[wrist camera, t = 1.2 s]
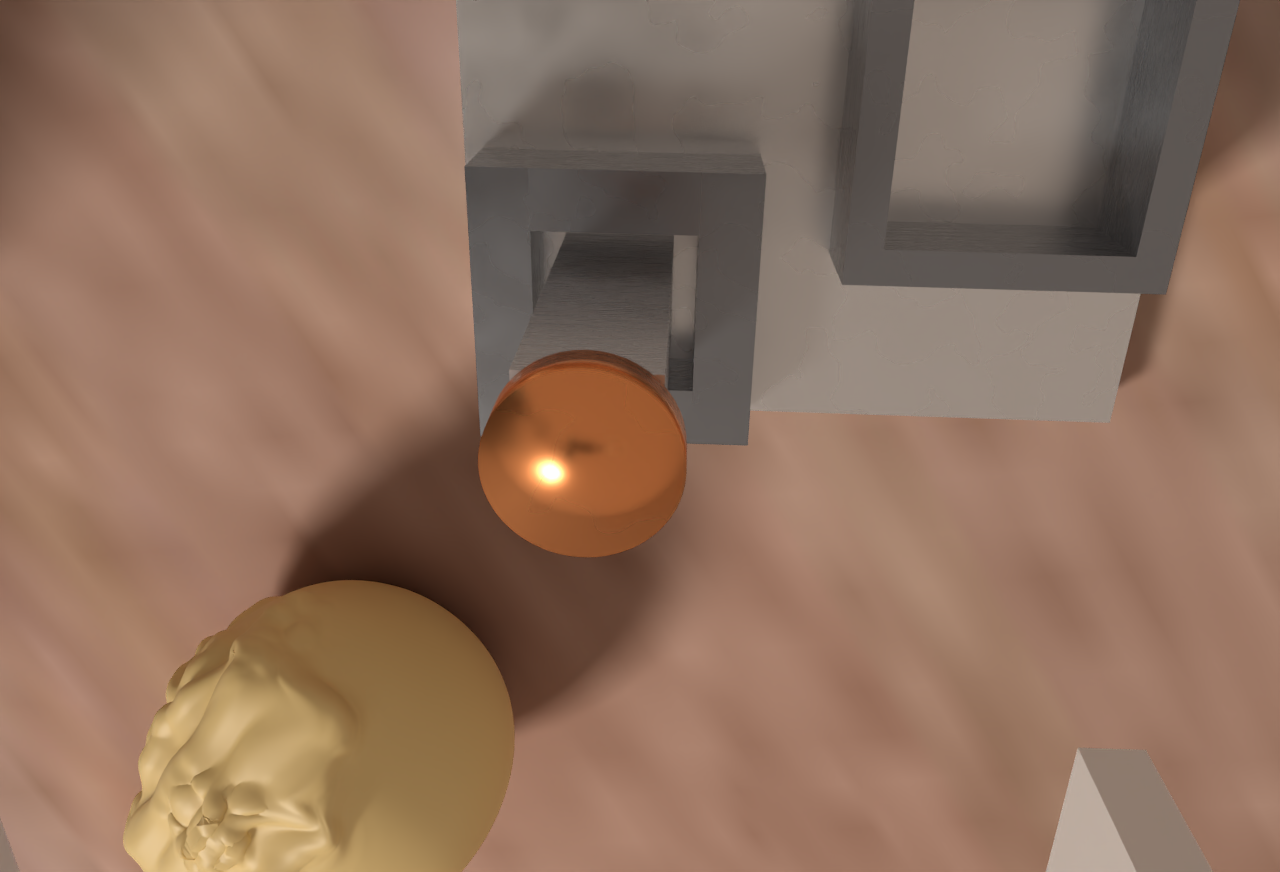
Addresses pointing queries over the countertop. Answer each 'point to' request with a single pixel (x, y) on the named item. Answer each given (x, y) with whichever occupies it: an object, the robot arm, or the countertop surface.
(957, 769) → the countertop surface
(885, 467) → the countertop surface
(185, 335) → the countertop surface
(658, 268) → the pin
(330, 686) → the sculpture
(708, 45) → the dock
